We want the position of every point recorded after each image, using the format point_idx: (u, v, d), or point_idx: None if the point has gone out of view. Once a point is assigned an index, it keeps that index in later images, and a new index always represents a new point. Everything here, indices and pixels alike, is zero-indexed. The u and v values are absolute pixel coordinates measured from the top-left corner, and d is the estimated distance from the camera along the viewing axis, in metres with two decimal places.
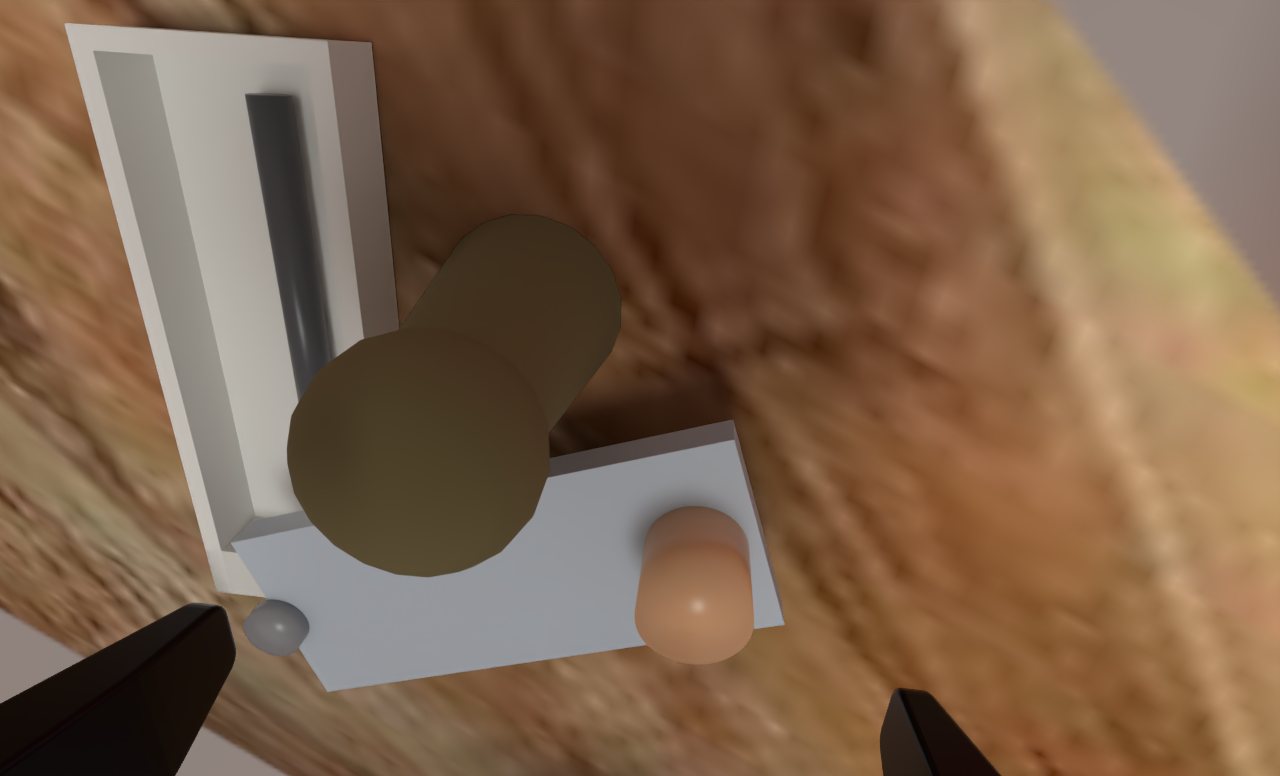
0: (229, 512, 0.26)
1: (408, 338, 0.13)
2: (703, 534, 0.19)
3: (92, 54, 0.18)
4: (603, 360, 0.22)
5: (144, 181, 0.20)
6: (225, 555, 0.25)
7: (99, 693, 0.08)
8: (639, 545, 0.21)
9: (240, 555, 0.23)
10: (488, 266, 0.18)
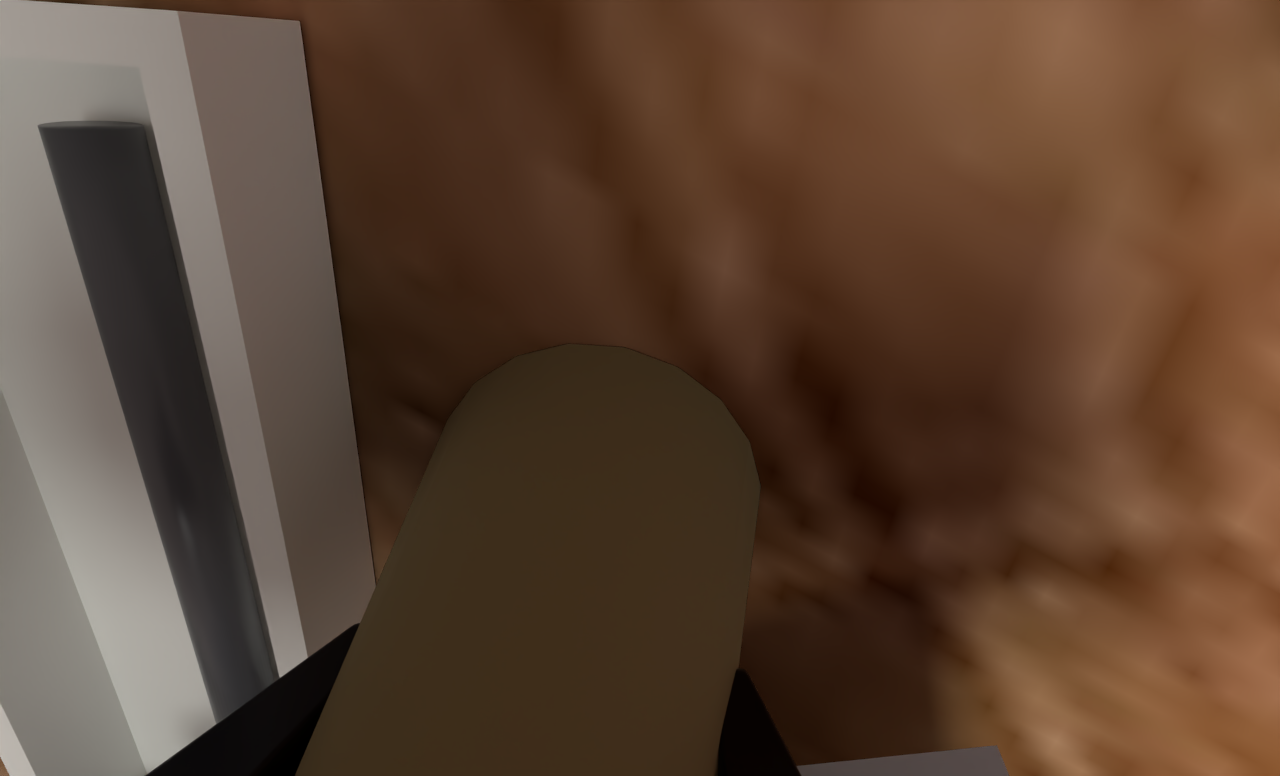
0: None
1: None
2: None
3: None
4: None
5: None
6: None
7: (300, 719, 0.07)
8: None
9: None
10: (542, 510, 0.08)
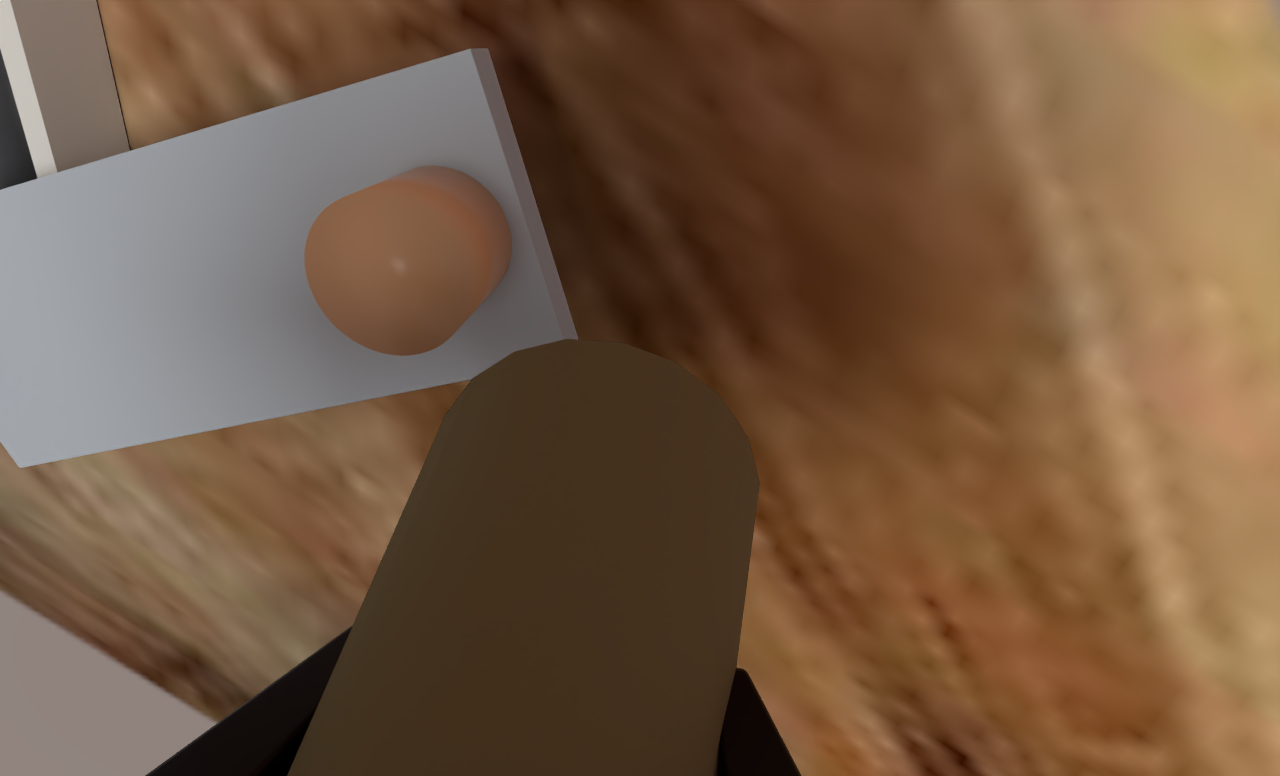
0: None
1: None
2: (421, 177, 0.14)
3: None
4: None
5: None
6: None
7: (300, 719, 0.07)
8: None
9: None
10: (539, 505, 0.08)
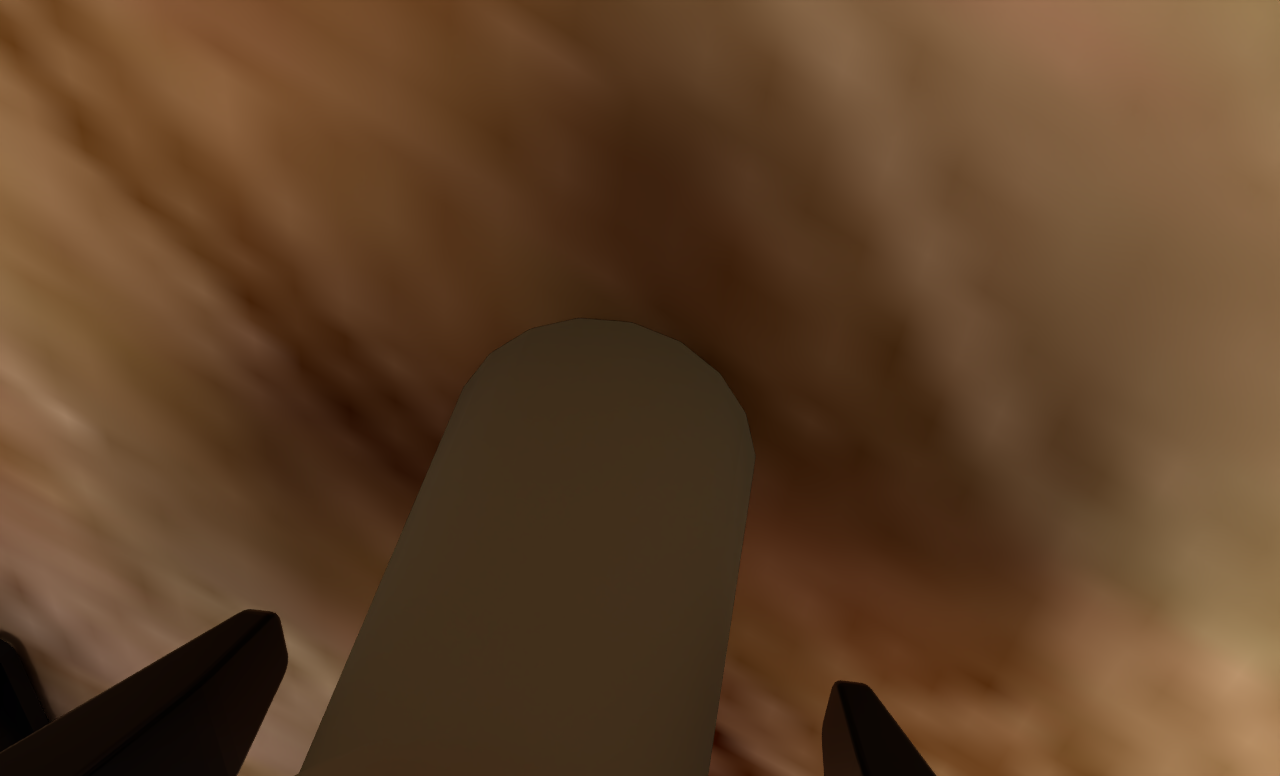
0: None
1: None
2: None
3: None
4: None
5: None
6: None
7: (165, 702, 0.07)
8: None
9: None
10: (558, 461, 0.09)
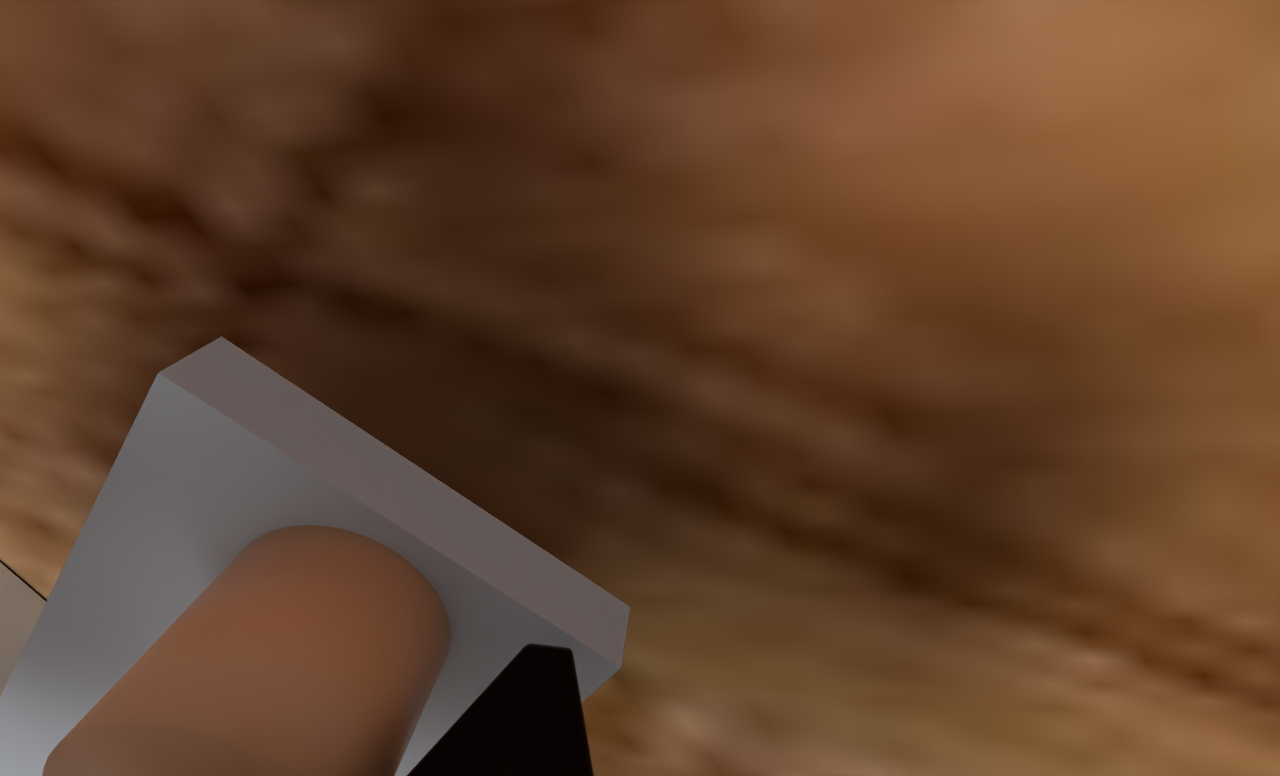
0: None
1: None
2: (199, 604, 0.08)
3: None
4: None
5: None
6: None
7: (509, 746, 0.07)
8: None
9: None
10: None
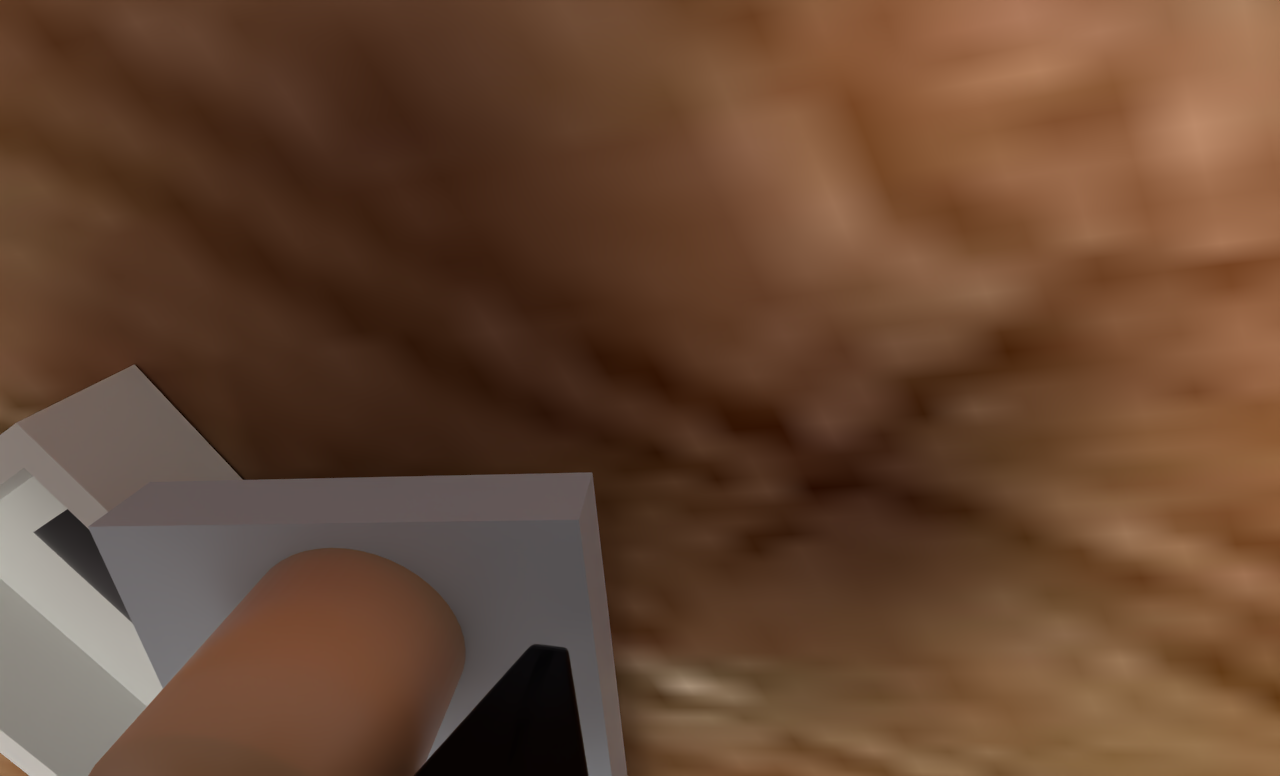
0: None
1: None
2: None
3: None
4: None
5: (18, 694, 0.15)
6: None
7: (515, 747, 0.07)
8: None
9: None
10: None
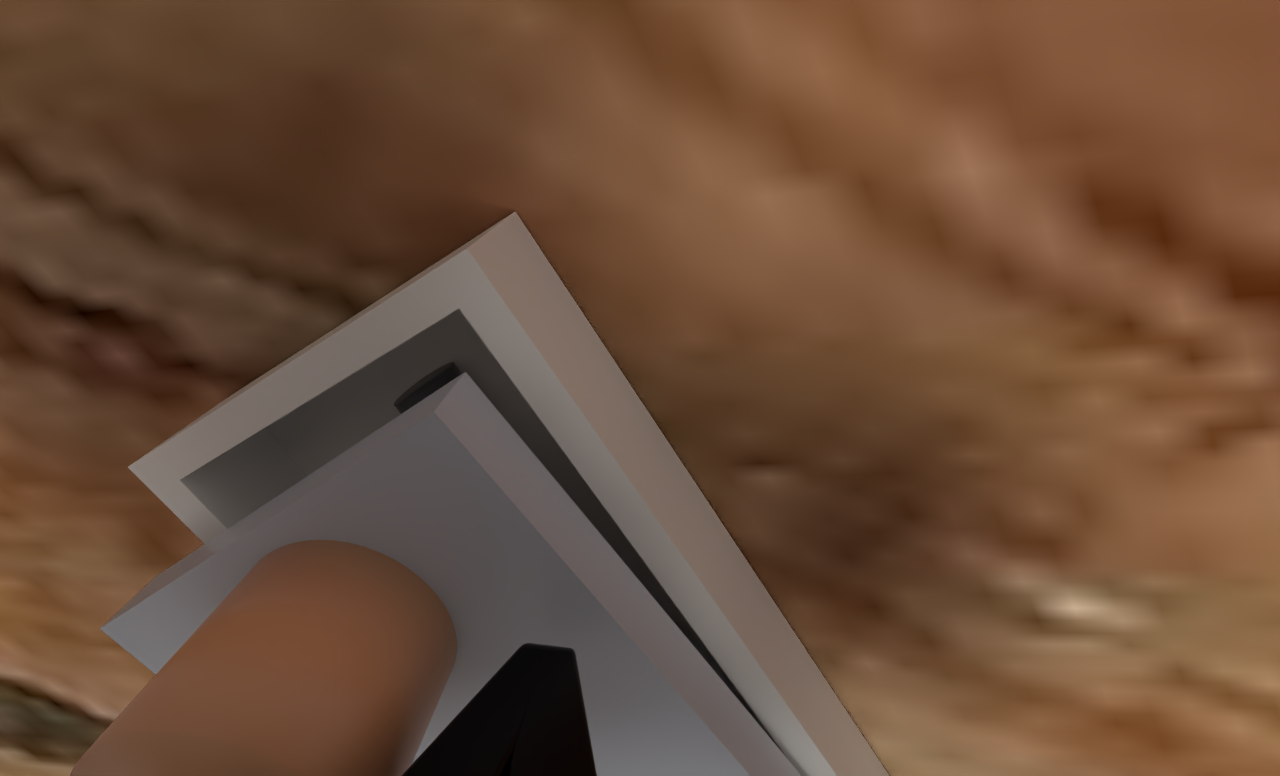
0: None
1: None
2: None
3: (182, 485, 0.11)
4: None
5: None
6: None
7: (505, 746, 0.07)
8: None
9: None
10: None
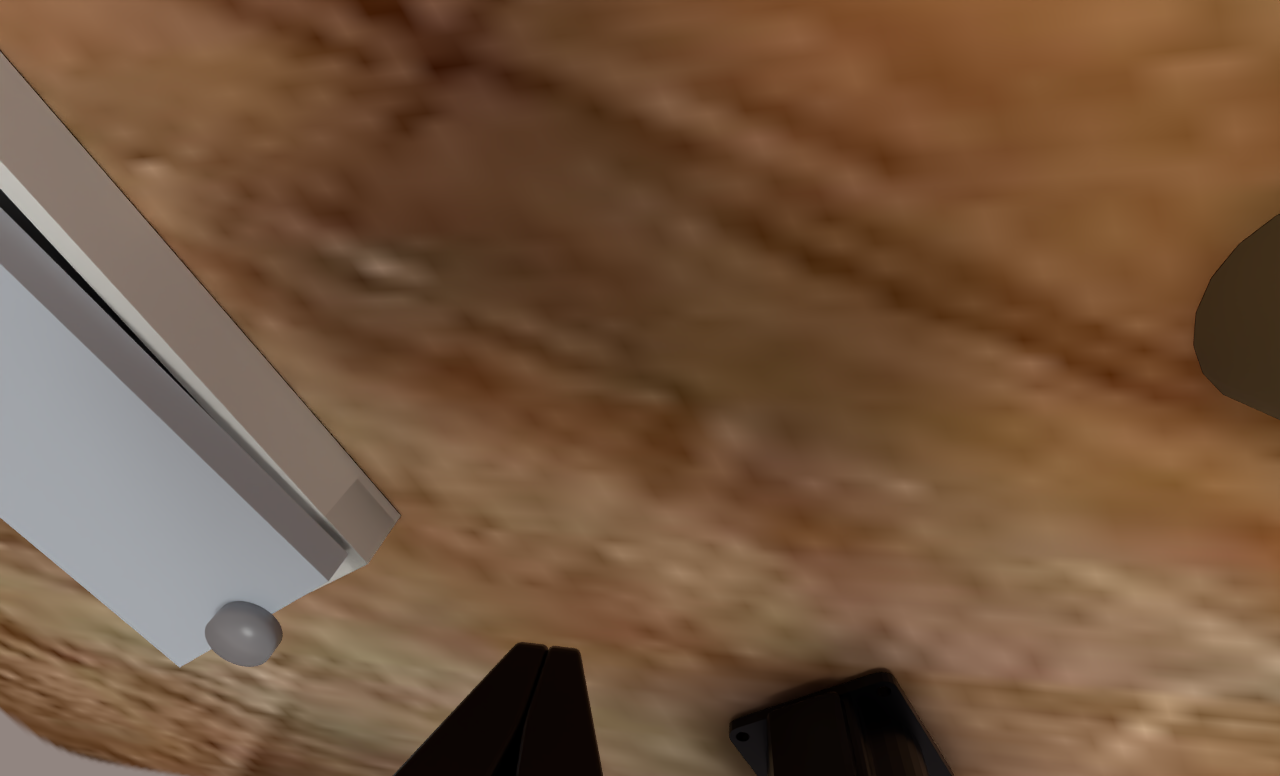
0: None
1: None
2: None
3: None
4: None
5: None
6: None
7: (498, 745, 0.07)
8: None
9: (192, 659, 0.22)
10: None
